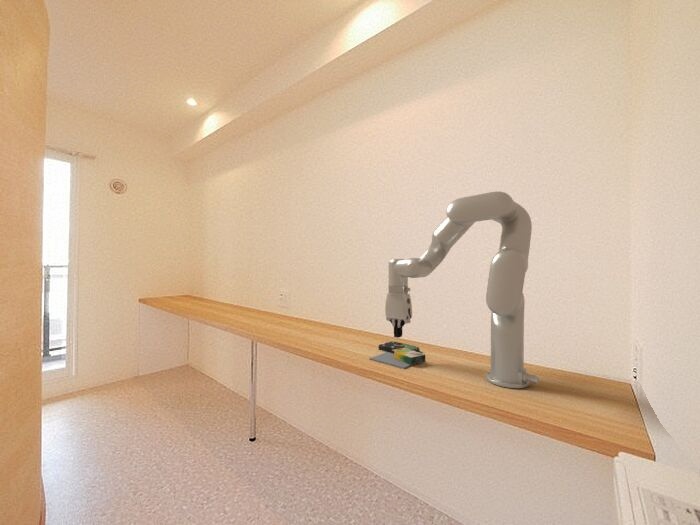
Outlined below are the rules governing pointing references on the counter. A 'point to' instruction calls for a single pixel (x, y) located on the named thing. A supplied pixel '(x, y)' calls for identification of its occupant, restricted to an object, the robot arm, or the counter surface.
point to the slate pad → (390, 360)
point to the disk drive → (396, 347)
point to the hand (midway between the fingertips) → (398, 336)
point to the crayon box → (409, 356)
